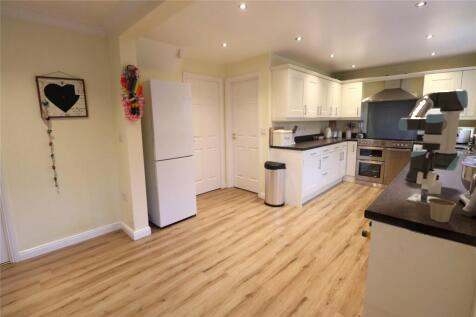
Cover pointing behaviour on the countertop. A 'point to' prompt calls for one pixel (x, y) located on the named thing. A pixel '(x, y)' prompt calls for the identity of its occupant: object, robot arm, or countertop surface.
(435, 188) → the medicine bottle
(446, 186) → the countertop surface
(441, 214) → the flower pot
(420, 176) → the cream cube
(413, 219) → the countertop surface
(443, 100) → the robot arm
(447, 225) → the countertop surface
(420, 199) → the hub plate
